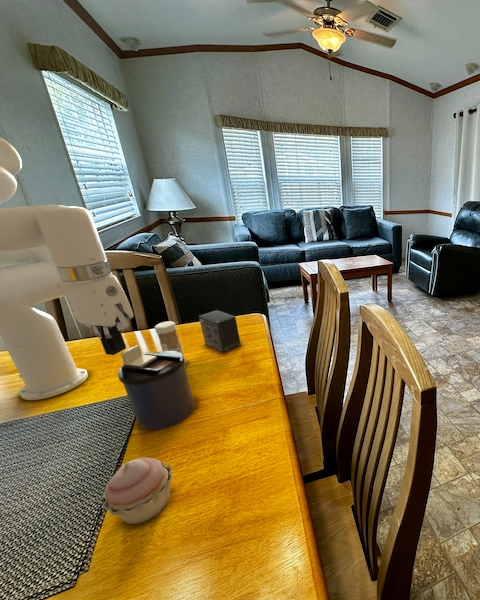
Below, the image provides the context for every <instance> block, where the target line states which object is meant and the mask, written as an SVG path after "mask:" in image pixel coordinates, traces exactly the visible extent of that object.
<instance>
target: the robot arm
mask: <svg viewBox="0 0 480 600" xmlns="http://www.w3.org/2000/svg"><path fill="white" fill-rule="evenodd" d="M22 164H23V162H22V159H21V156H20V154H19V153H18V151H17V149H15V146H13V145H12V144H11V143H9V142H8V141H7V140H5V139H4V138H2V137H0V205H2V204H4V203H6V202H7V201H9V200H10V199H11V198H13V196H14V195H15V194H16V192H17V189H18V185H17V181H16V179H15V176H16V175H18V174H19V173H20V171H21V170H22V167H23V165H22ZM19 264H20V265H19ZM21 264H22V265H21ZM9 266H10V267H9ZM4 267H5V268H4ZM62 297H66V298H67V301H68V304H69V307H70V310H71V313H72V315H73V316H74V318H75V320H76V322H77V323H79V324H82V325H83V326H84V327H86V328H89V329H91V330H93V332H94V334H95V335H96V337H97V338H98V339H99V340H100V343H101V345H102V347H103V350H104V353H105V354H106V355H108V356H109V355H110V356H115V355H117V354H119V353H122V352H124V351H125V350H127V349H126V348H127V346H126V343H125V340H124V337H123V335H122V334H123V331H125V330H127V329H129V328H130V327H131V326H130V324H129V322H128V320H131V319H133V318H134V312H133V309H132V307H131V304H130V301H129V299H128V297H127V295H126V292H125V291H124V289H123V286H122V285H121V283H120V282H119V280H118V279H117V277H116V275H113V273H112V269H111V266H110V264H109V261H108V258H107V255H106V252H105V250H104V247H103V243H102V242H101V238H100V235H99V233H98V230H97V227H96V224H95V221H94V219H93V216H92V214H91V213H90V211H89V210H88V209H87V208H85V207H80V206H66V205H61V204H43V205H42V204H41V205H28V206H27V205H26V206H14V207H11V206H10V207H1V208H0V339H1V341H2V343H3V345H4V347H5V348H6V350H7V353H8V354H9V356H10V358H11V360H12V362H13V364H14V366H15V368H16V370H17V371H18V373H19V375H18V377H19V378H20V379H22V382H23V383H24V386H23V387H22V388H20V390H19V396H20V397H21V399H22V400H24V401H25V400H26V401H38V400H39V401H40V400H45V399H48V398H52V397H55V396H58V395H62V394H64V393H66V392H69V391H71V390H74V389H75V388H76V387H79V386H80V385H81V384H83V383H84V382H85V381H86V380H87V379H88V376H89V373H88V371H87V369H85V368H79V367H77V366H76V364H75V361H74V359H73V356H72V354H71V353H70V350H69V348H68V345H67V343H66V341H65V338H64V336H63V334H62V332H61V329H60V328H59V325H58V323H57V321H56V319H55V318H54V317H53V316H52V315H51V314H49V313H47V312H44V311H43V310H39V309H37V308H35V306H37V305H39V304H42V303H45V302H49V301H52V300H56V299H59V298H62Z"/></svg>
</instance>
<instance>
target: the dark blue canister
mask: <svg viewBox="0 0 480 600" xmlns="http://www.w3.org/2000/svg"><path fill="white" fill-rule="evenodd" d="M142 354H143V355H151V356H157V359H155V360H153V361H152V362H150V363H148V364H147V365H145V366H143V367H136V366H129V365H123V364H121V365H120V369H119V370H118V372H117V377H118V380H119V381H120V383H122V384H123V387H124V389H125V392H126V395H127V397H128V400H129V403H130V405H131V407H132V410H133V413H134V415H135V418H136V420H137V423H138V426H139V427H140V428H141V429H143V430H146V431H157V430H158V431H159V430H162V429H166V428H169V427H172V426H174V425H177V424H179V423H180V422H182V421H184V420H185V419H187V418H188V417H189V416H190V415H191V414H192V413H193V412H194V410H195V408H196V401H195V398H194V394H193V391H192V387H191V384H190V381H189V378H188V374H187V370H186V368H185V367H186V366H184V359H185V357H184V358H183V355H184V354H183V355H182V354H181V353H180V352H177V351H163V350H160V351H156V352H147V351H145V352H143V353H142Z"/></svg>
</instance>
